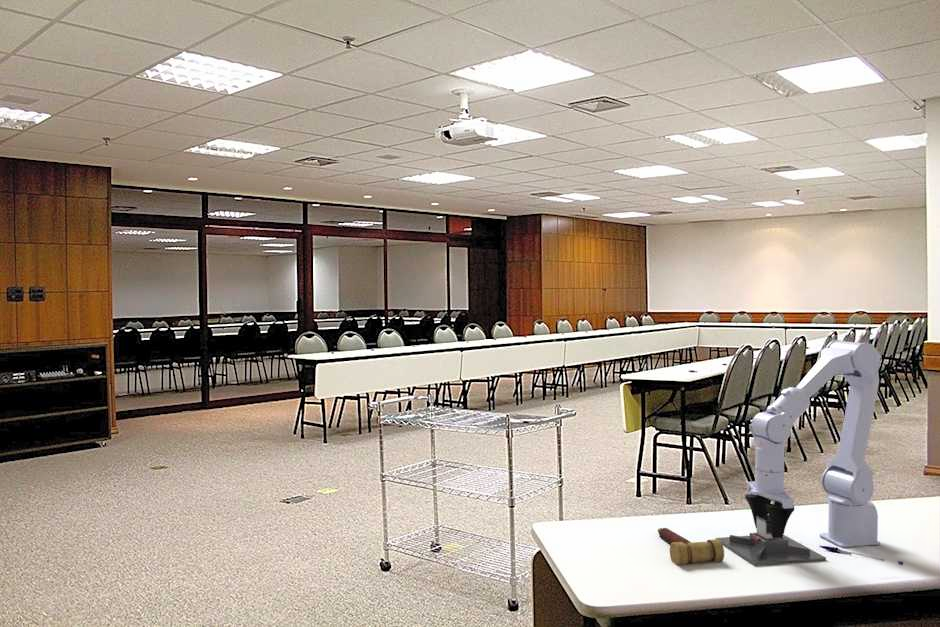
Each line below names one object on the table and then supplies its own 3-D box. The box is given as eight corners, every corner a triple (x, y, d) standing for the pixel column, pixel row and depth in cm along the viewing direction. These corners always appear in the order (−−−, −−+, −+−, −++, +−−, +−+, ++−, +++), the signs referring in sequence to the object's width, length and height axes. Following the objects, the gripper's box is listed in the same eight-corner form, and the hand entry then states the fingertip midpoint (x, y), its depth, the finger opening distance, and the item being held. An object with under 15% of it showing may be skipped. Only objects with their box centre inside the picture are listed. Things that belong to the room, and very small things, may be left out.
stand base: (781, 535, 177) (781, 522, 177) (826, 560, 161) (826, 546, 161) (715, 540, 174) (715, 527, 174) (754, 566, 158) (754, 551, 158)
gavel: (638, 521, 179) (679, 518, 180) (638, 541, 179) (679, 538, 180) (678, 545, 158) (724, 542, 160) (679, 568, 158) (725, 565, 160)
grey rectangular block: (771, 543, 170) (772, 514, 169) (782, 549, 166) (782, 519, 166) (755, 545, 169) (756, 515, 169) (765, 551, 165) (765, 521, 165)
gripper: (734, 462, 173) (734, 523, 174) (771, 478, 159) (771, 545, 159) (763, 461, 174) (763, 521, 175) (803, 476, 160) (802, 542, 161)
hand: (768, 532), depth 167 cm, fingers open, 6 cm apart
